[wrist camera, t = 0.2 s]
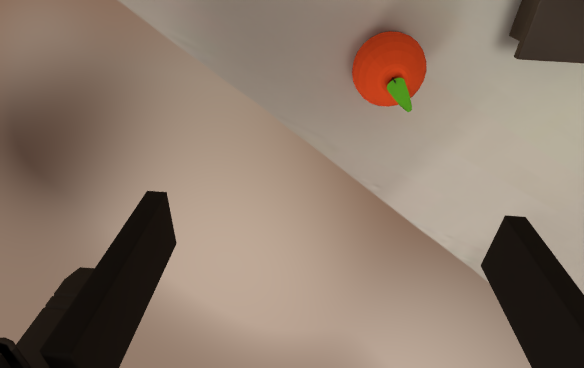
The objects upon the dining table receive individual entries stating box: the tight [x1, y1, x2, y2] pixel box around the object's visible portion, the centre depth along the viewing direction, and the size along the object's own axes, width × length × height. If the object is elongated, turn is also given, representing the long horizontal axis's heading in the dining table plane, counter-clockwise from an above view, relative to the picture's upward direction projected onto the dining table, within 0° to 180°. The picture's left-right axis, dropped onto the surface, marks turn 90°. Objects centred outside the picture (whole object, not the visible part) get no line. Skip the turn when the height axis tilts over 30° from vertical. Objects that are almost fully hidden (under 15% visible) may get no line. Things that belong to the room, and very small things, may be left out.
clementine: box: [352, 31, 426, 112], centre depth 35 cm, size 8×7×7 cm
